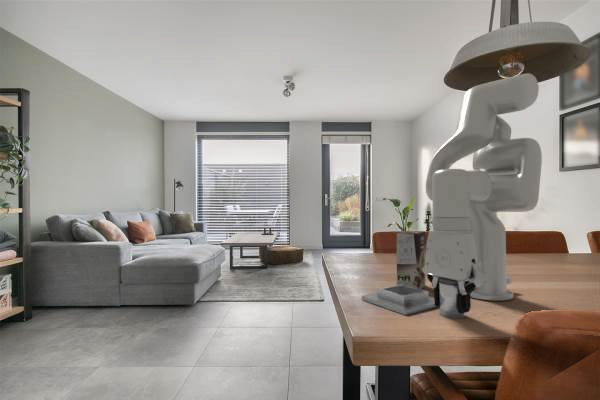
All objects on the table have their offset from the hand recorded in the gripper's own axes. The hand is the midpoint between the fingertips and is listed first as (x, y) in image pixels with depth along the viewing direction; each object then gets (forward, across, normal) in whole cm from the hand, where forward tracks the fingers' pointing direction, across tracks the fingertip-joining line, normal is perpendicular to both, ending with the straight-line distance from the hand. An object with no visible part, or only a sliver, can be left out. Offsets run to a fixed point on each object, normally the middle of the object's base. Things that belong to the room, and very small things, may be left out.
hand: (451, 307), depth 73 cm
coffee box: (+2, -21, +12) cm, 24 cm away
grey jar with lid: (+1, 0, 0) cm, 1 cm away
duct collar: (+1, -12, -2) cm, 12 cm away
